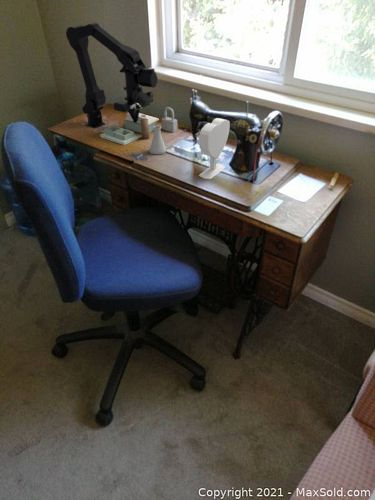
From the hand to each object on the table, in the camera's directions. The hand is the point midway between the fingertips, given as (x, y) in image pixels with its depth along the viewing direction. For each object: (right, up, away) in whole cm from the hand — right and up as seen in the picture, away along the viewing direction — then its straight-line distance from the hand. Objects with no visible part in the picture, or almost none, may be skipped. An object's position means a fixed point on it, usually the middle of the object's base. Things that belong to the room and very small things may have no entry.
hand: (135, 122), depth 163 cm
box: (+2, -1, +6) cm, 6 cm away
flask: (+11, -16, -13) cm, 24 cm away
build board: (-6, -8, -3) cm, 10 cm away
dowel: (+5, -8, -3) cm, 10 cm away
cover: (+2, +3, +4) cm, 6 cm away
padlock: (+15, -2, +5) cm, 16 cm away
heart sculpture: (+32, -27, -26) cm, 49 cm away
